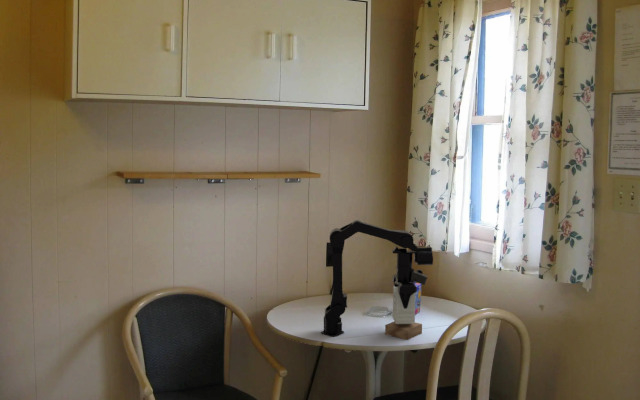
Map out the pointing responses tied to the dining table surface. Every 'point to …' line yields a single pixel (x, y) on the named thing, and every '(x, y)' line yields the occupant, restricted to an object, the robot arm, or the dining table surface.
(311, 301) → the dining table surface
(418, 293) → the ink cartridge box
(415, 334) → the walnut block
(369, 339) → the dining table surface
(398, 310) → the supplement box
